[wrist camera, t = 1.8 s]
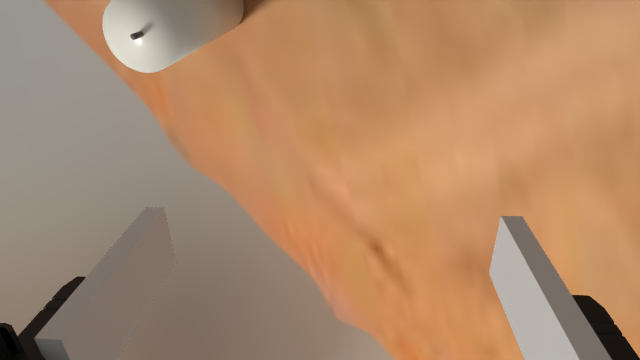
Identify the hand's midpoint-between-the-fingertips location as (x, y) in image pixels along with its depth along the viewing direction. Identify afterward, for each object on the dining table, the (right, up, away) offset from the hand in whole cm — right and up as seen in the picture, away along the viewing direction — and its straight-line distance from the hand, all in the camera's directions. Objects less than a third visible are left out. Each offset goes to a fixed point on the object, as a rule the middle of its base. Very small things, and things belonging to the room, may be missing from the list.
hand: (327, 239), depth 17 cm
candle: (-8, +16, +17) cm, 25 cm away
